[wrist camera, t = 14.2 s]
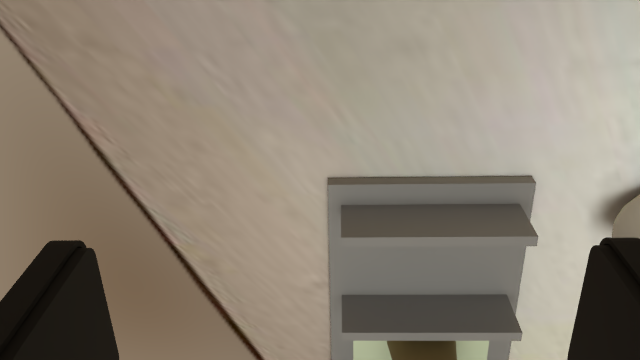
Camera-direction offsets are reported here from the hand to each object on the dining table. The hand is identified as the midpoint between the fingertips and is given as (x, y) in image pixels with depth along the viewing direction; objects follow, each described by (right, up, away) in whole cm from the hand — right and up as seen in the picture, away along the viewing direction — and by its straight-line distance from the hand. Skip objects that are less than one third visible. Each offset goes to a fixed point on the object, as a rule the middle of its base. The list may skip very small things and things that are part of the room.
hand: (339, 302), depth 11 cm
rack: (+9, -7, +41) cm, 42 cm away
